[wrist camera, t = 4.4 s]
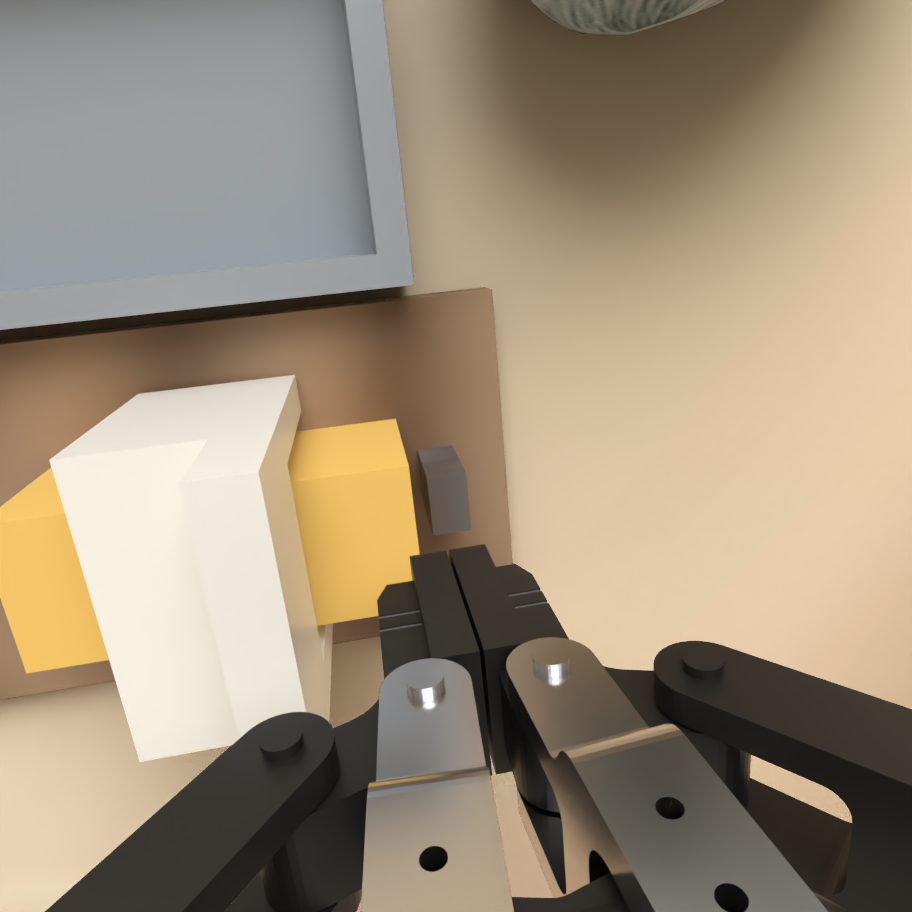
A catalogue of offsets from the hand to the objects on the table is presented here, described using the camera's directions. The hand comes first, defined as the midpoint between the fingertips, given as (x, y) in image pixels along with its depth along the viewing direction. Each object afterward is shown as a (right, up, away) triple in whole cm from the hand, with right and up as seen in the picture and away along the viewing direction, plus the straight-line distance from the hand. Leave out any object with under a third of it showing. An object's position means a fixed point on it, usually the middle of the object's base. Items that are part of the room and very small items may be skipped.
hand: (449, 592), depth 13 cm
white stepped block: (-6, +1, +5) cm, 8 cm away
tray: (-8, +11, +3) cm, 14 cm away
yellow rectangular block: (-6, +1, +6) cm, 8 cm away
